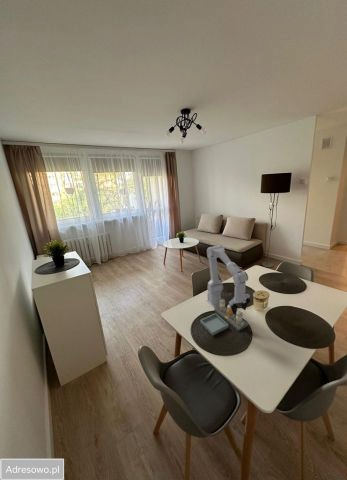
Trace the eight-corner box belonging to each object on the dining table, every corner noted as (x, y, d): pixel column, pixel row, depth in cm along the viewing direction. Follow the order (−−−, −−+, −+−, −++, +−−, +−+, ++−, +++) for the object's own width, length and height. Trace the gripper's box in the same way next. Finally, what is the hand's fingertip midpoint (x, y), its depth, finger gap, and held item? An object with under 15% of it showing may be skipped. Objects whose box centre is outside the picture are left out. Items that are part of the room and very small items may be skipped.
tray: (200, 323, 118) (200, 320, 117) (215, 316, 123) (215, 313, 122) (212, 336, 108) (212, 332, 107) (228, 327, 113) (228, 324, 112)
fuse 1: (218, 308, 128) (218, 299, 126) (222, 306, 129) (222, 298, 127) (222, 311, 125) (222, 302, 123) (226, 309, 126) (226, 300, 124)
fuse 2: (234, 322, 115) (235, 312, 113) (239, 319, 116) (239, 310, 114) (239, 325, 112) (239, 315, 110) (243, 323, 113) (243, 313, 111)
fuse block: (214, 310, 129) (214, 306, 128) (223, 306, 132) (223, 302, 131) (238, 331, 110) (238, 326, 109) (248, 325, 113) (248, 321, 112)
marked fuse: (226, 315, 121) (226, 305, 119) (230, 313, 123) (230, 303, 121) (230, 318, 118) (230, 308, 116) (234, 316, 120) (234, 306, 118)
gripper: (235, 299, 101) (235, 320, 105) (254, 290, 107) (253, 310, 111) (226, 293, 107) (226, 313, 111) (244, 285, 113) (243, 304, 117)
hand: (239, 311), depth 112 cm, fingers open, 7 cm apart
